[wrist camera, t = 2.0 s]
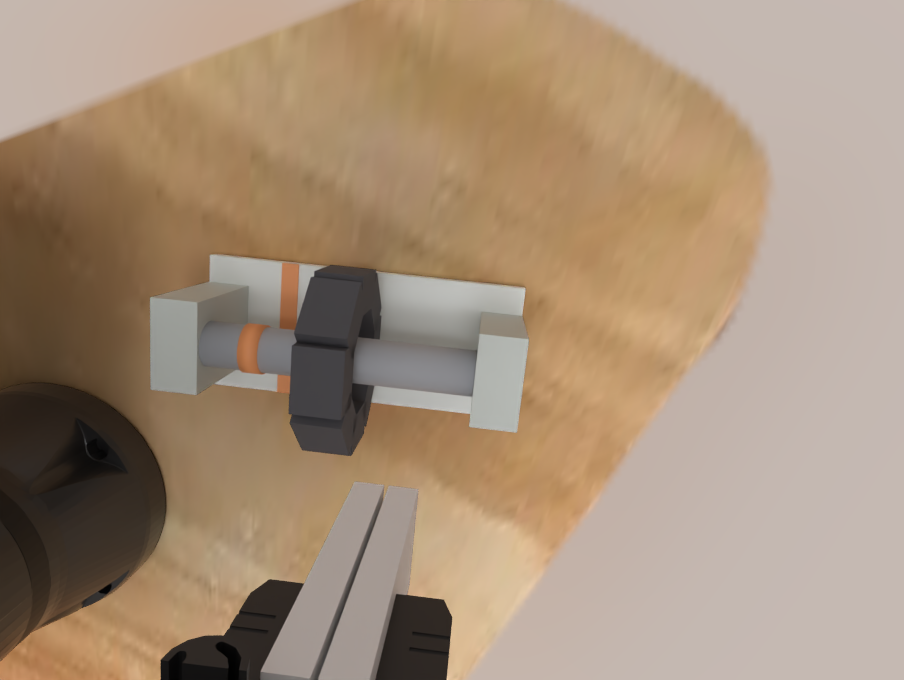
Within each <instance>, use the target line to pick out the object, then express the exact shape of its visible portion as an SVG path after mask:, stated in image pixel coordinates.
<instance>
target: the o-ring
mask: <svg viewBox="0 0 904 680" xmlns="http://www.w3.org/2000/svg"><path fill="white" fill-rule="evenodd" d="M381 308H382V307H381V298H380V290H379V282H378V273H376V270H373V269H364V268H355V267H346V266H336V265H330V266H327V267H324V268H321V269H319V270H316V271H314V277H311V278H310V281H309V285H308V288H307V291H306V295H305V298H304V301H303V304H302V308H301V311H300V314H299V318H298V321H297V324H296V327H295V331H294V335H295V338H296V341H297V342H296V343H295V344H293V345H292V351H291V373H290V395H289V414H292V417H291V420H290V425H291V427H292V429H293V431H294V434H295V436H296V438H297V440H298V442H299V444H300V447H301V449H302V450H305V451H313V452H321V453H330V454H338V455H346V456H351V455H352V454H353V452H354V450H355V448H356V446H357V445H358V443H359V441H360V439H361V438H362V436H363V434H364V426H366V424H367V419H368V415H369V410H370V405H371V400H372V395H373V391H374V386H373V385H364V384H356V383H352V380H353V366H354V352H355V348H356V344H357V339H358V337H361V338H370V339H379V340H380V329H381V316H380V312H381Z"/></svg>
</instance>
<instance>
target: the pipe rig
mask: <svg viewBox="0 0 904 680" xmlns="http://www.w3.org/2000/svg"><path fill="white" fill-rule="evenodd" d="M324 267H327V266H324V265H315V264H306V263H296V262H287V261H278V260H269V259H259V258H250V257H241V256H231V255H222V254H212V255H210V282H206V283H202V284H198V285H195V286H191V287H187V288H183V289H179V290H176V291H172V292H168V293H164V294H160V295H157V296H153V297H150V374H151V390H157V391H166V392H174V393H183V394H191V395H197V394H199V393H201V392H202V391H204V390H205V389H207V388H208V387H210V386H211V385H213V384H217V385H225V386H234V387H243V388H251V389H260V390H268V391H277V392H281V393H290V373H291V351H292V345H293V344H295V343H296V342H297V341H296V338H295V335H294V331H295V327H296V324H297V321H298V318H299V314H300V311H301V308H302V304H303V301H304V298H305V295H306V291H307V288H308V285H309V281H310V278H311V277H314V271H316V270H319V269H321V268H324ZM376 273H378V282H379V290H380V298H381V307H382V308H381V312H380V316H381V329H380V340H379V339H370V338H361V337H358V339H357V344H356V348H355V352H354V366H353V380H352V383H356V384H364V385H373V386H374V391H373V395H372V400H371V402H372V403H380V404H389V405H398V406H406V407H415V408H423V409H432V410H441V411H449V412H458V413H466V414H470V423H469V427H473V428H482V429H491V430H499V431H508V432H516V433H517V428H518V420H519V412H520V405H521V397H522V389H523V382H524V374H525V367H526V359H527V351H528V344H529V337H528V334H527V331H526V327H525V324H524V320H523V317H522V313H523V305H524V298H525V290H526V289H525V287H519V286H510V285H501V284H491V283H482V282H473V281H463V280H454V279H445V278H436V277H426V276H417V275H408V274H398V273H389V272H380V271H376Z"/></svg>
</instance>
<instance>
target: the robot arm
mask: <svg viewBox="0 0 904 680" xmlns="http://www.w3.org/2000/svg"><path fill="white" fill-rule="evenodd" d="M383 494H384V485H380V484H372V483H364V482H354V484H353V486H352V488H351V490H350V492H349V494H348V496H347V498H346V500H345V502H344V504H343V506H342V508H341V510H340V512H339V514H338V516H337V518H336V520H335V522H334V524H333V526H332V528H331V530H330V532H329V534H328V536H327V539H326V541H325V543H324V545H323V547H322V549H321V551H320V553H319V555H318V557H317V559H316V561H315V563H314V565H313V567H312V569H311V571H310V573H309V575H308V577H307V579H306V581H305V583H304V584H302V583H295V582H287V581H279V580H271V579H269V580H268V581H267V582H265V583H264V584H262V585H261V586H260V587H258V588H257V589H256V590H254V591H253V592H251V593H250V595H249V596H248V598H247V600H246V601H245V603H244V604H243V606H242V608H241V609H240V611H239V615H238V614H237V616H236V617H235V619H234V620H233V622H232V624H231V625H230V629H228V630H227V632H226V633H225V635H224V636H202V637H198V638H195V639H191V640H187V641H186V642H184V643H182V644H180V645H178V646H176V647H174V648H173V649H171V650H170V651H169V652H168V653H167V654H166V655H165V656H164V657H163V658H162V659H161V680H446V678H447V668H448V657H449V647H450V636H451V625H452V616H451V614H450V612H449V610H448V608H447V606H446V603H445V601H444V600H441V599H433V598H425V597H418V596H410V595H407V593H408V588H409V583H410V572H411V562H412V551H413V541H414V531H415V520H416V510H417V499H418V489H413V488H405V487H397V486H389V487H388V490H387V492H386V495H385V498H384V500H383ZM164 518H165V492H164V486H163V481H162V477H161V474H160V471H159V468H158V465H157V463H156V461H155V459H154V457H153V455H152V453H151V451H150V449H149V447H148V446H147V444H146V443H145V441H144V440H143V438H142V437H141V436H140V434H139V433H138V432H137V431H136V430H135V428H134V427H133V426H132V425H131V424H130V423H129V422H128V421H127V420H126V419H125V418H124V417H123V416H121V415H120V414H119V413H118V412H117V411H115V410H114V409H113V408H111V407H110V406H108V405H107V404H105V403H104V402H102V401H100V400H99V399H97V398H95V397H93V396H91V395H89V394H87V393H84V392H82V391H79V390H76V389H73V388H70V387H66V386H61V385H56V384H48V383H27V384H20V385H15V386H10V387H7V388H4V389H1V390H0V661H1V660H2V659H3V658H4V657H6V656H7V655H8V654H9V653H10V652H11V651H12V650H13V649H14V648H15V647H16V646H17V645H18V644H19V643H20V642H21V641H22V640H24V639H25V638H26V637H27V636H28V635H29V634H30V633H31V632H33V631H35V630H37V629H39V628H42V627H44V626H46V625H48V624H50V623H52V622H54V621H57V620H59V619H61V618H63V617H65V616H67V615H69V614H72V613H74V612H76V611H77V610H79V609H81V608H83V607H86V606H89V605H91V604H93V603H95V602H97V601H99V600H101V599H103V598H105V597H106V596H108V595H109V594H111V593H112V592H114V591H115V590H116V589H118V588H119V587H120V586H121V585H123V584H124V583H125V582H126V581H127V580H128V579H129V578H130V577H131V576H132V575H133V574H134V573H135V572H136V571H137V570H138V569H139V568H140V567H141V565H142V564H143V563H144V562H145V561H146V560H147V559H148V557H149V556H150V555H151V553H152V551H153V550H154V548H155V546H156V544H157V542H158V540H159V537H160V535H161V532H162V528H163V524H164Z"/></svg>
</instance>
